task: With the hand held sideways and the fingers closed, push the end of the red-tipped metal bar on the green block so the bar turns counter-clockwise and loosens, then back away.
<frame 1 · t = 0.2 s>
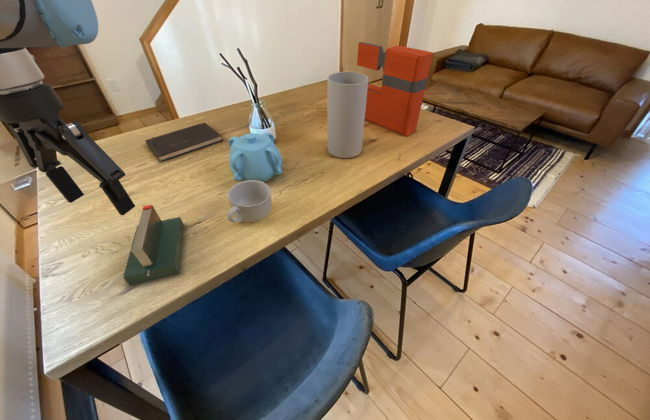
hand: (101, 204, 52), 18 cm above the table, tool pointing down, fingers open, 13 cm apart
decorative pot: (258, 173, 90), on the table
teacup: (250, 218, 75), on the table
hardcover book: (185, 143, 106), on the table
green block: (159, 252, 66), on the table
cylinder vase: (344, 150, 101), on the table
clamp: (377, 120, 120), on the table
red-tipped metal bar: (148, 234, 62), point 6 cm above the table, hinge at 0.0°
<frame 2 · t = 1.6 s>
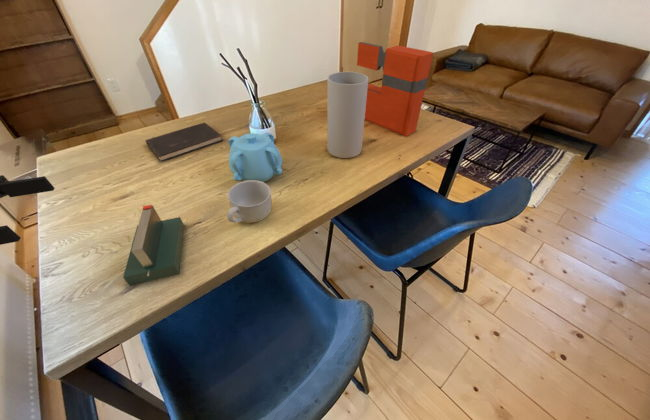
hand: (32, 205, 45), 22 cm above the table, tool horizontal, fingers open, 12 cm apart
nothing on the table moved.
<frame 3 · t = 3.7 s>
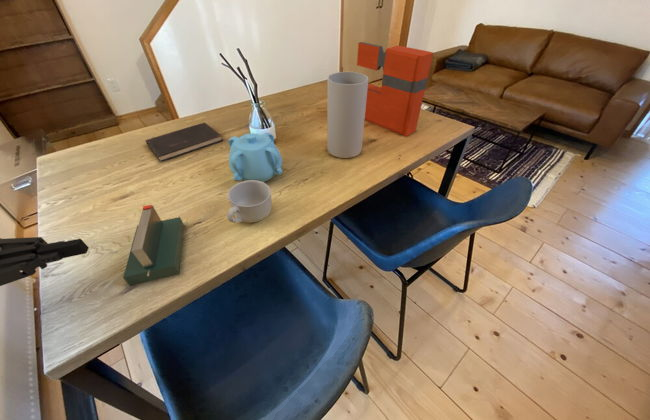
hand: (83, 246, 52), 12 cm above the table, tool horizontal, fingers closed
nothing on the table moved.
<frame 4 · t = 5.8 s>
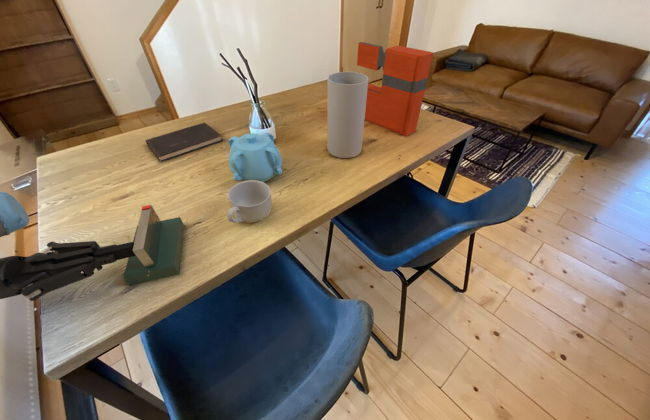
hand: (134, 248, 57), 8 cm above the table, tool horizontal, fingers closed
red-tipped metal bar: (148, 234, 62), point 6 cm above the table, hinge at 1.9°, touching gripper
everything else where it was.
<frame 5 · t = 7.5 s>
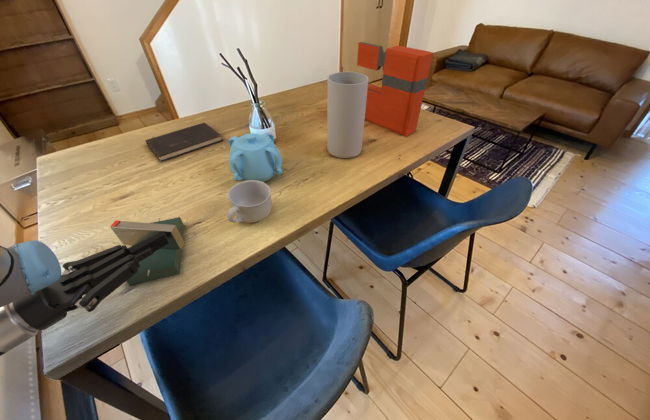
hand: (165, 237, 59), 8 cm above the table, tool horizontal, fingers closed
red-tipped metal bar: (148, 234, 62), point 6 cm above the table, hinge at 66.8°
everything else where it was.
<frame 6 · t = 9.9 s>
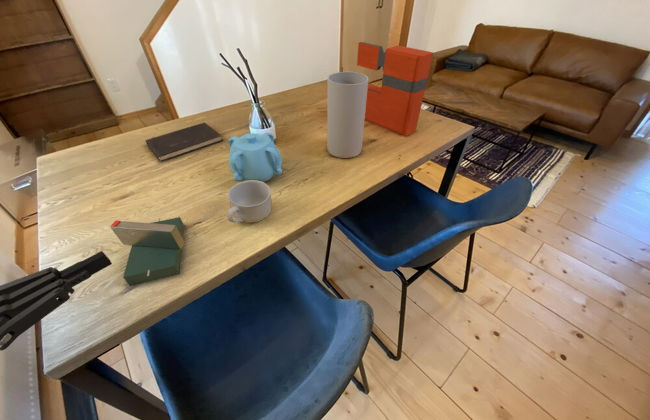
hand: (107, 257, 52), 11 cm above the table, tool horizontal, fingers closed
nothing on the table moved.
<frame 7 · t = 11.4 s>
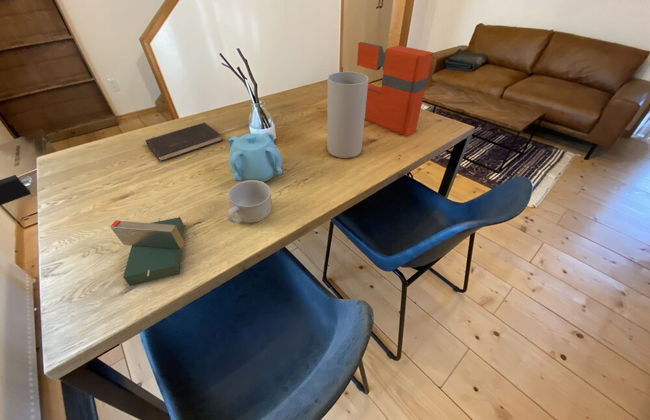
hand: (23, 184, 40), 28 cm above the table, tool horizontal, fingers closed
nothing on the table moved.
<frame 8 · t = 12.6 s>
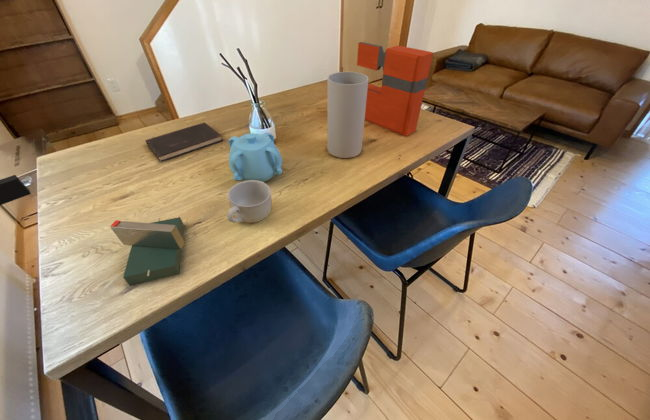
hand: (22, 184, 40), 28 cm above the table, tool horizontal, fingers closed
nothing on the table moved.
at the end: red-tipped metal bar at +67° (first picture: +0°); teacup moved 0.2 cm from its start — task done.
